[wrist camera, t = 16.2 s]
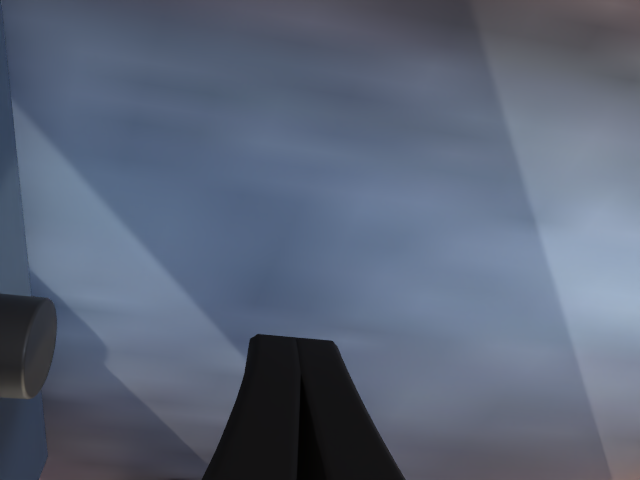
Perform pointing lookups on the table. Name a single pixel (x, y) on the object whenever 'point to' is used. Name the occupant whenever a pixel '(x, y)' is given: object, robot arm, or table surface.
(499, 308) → the table surface
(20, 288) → the drawer
